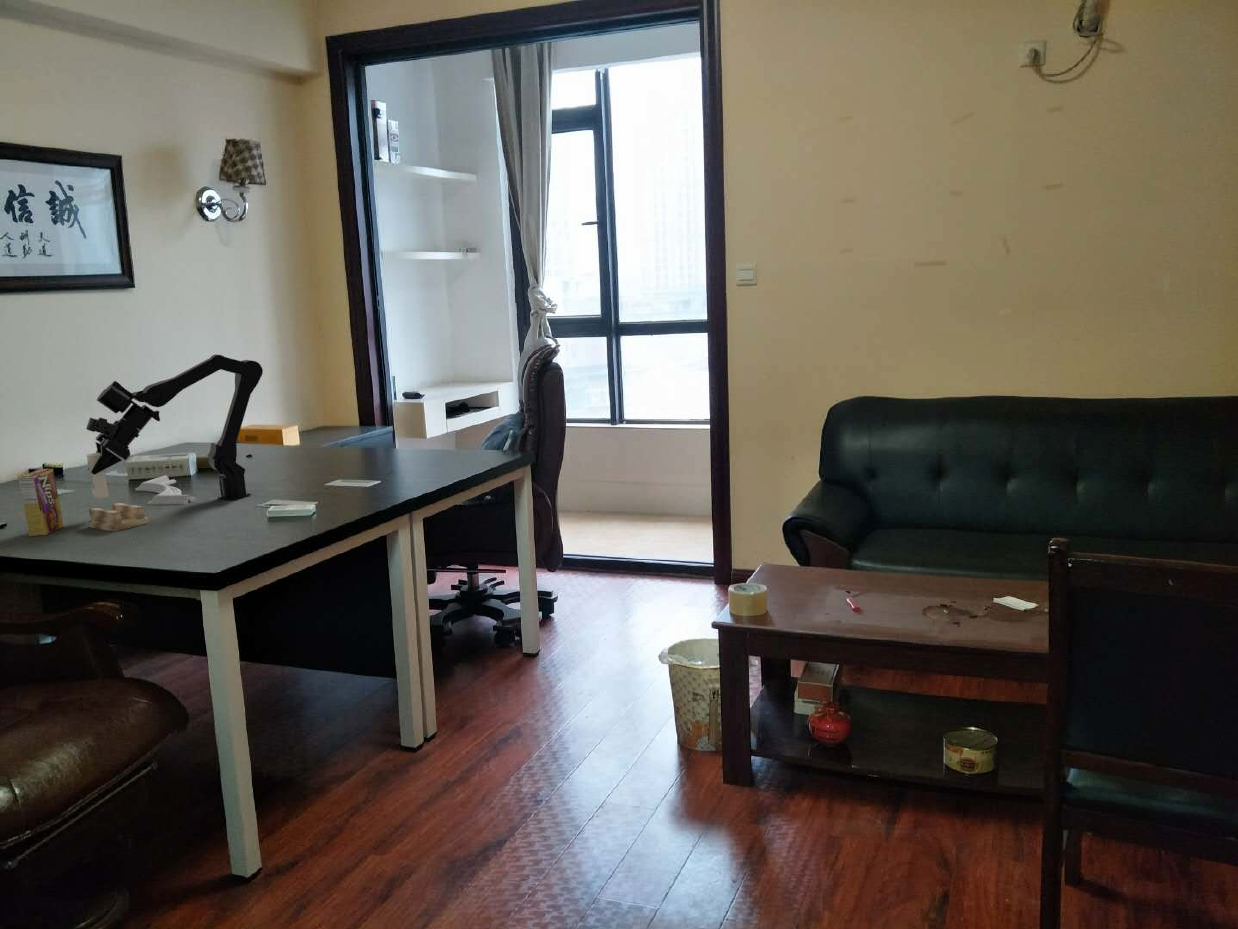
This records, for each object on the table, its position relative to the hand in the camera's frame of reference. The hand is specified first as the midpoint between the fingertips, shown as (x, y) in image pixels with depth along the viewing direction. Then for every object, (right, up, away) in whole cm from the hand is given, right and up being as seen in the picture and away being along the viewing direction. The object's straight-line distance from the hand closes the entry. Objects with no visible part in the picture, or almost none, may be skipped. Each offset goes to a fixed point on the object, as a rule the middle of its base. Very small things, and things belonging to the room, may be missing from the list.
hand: (91, 471), depth 261 cm
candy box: (-7, -15, -9) cm, 19 cm away
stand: (+10, -13, -6) cm, 18 cm away
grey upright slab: (+1, -6, +2) cm, 7 cm away
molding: (+6, -7, +33) cm, 35 cm away
